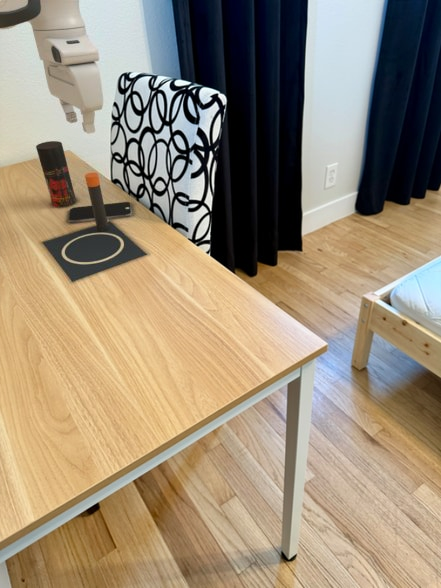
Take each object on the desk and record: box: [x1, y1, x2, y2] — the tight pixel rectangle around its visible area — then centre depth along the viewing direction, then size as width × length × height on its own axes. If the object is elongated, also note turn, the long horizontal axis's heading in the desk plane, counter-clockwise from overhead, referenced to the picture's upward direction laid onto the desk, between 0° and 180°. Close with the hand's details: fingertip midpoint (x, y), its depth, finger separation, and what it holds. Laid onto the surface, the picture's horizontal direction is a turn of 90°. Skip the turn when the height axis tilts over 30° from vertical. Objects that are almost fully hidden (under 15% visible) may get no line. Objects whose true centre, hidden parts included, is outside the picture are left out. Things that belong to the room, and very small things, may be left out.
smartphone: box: [67, 201, 133, 224], centre depth 105 cm, size 8×1×15 cm
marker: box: [84, 172, 109, 232], centre depth 95 cm, size 3×3×13 cm
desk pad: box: [42, 220, 148, 283], centre depth 92 cm, size 16×19×1 cm
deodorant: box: [35, 140, 77, 209], centre depth 107 cm, size 6×6×15 cm
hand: (80, 126), depth 85 cm, fingers open, 8 cm apart
